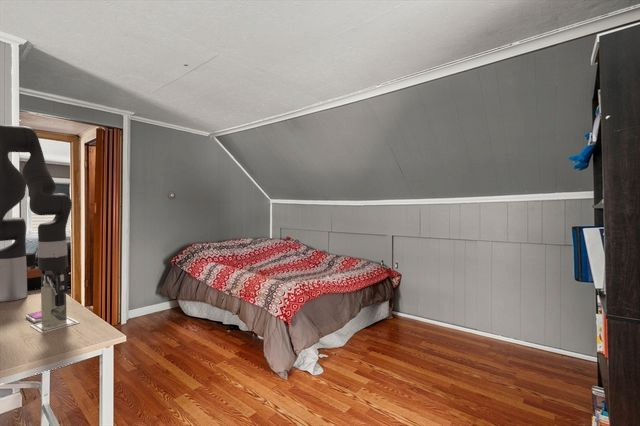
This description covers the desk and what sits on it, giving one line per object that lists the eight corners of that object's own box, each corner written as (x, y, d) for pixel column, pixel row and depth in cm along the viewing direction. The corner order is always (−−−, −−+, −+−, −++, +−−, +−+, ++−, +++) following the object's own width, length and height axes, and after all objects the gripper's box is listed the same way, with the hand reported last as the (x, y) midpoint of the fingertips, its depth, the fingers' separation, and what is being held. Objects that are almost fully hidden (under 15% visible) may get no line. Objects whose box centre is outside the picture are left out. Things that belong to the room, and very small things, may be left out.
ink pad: (25, 318, 113) (25, 314, 113) (53, 311, 119) (53, 307, 119) (34, 323, 108) (33, 319, 108) (62, 316, 115) (62, 312, 115)
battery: (22, 289, 146) (21, 267, 145) (41, 286, 151) (40, 265, 151) (24, 291, 143) (23, 269, 143) (44, 288, 148) (43, 266, 148)
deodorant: (23, 285, 153) (21, 253, 153) (38, 283, 156) (37, 252, 155) (17, 288, 148) (16, 255, 147) (33, 287, 150) (32, 254, 149)
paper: (30, 326, 106) (30, 325, 106) (67, 316, 114) (67, 315, 114) (41, 333, 101) (41, 332, 101) (79, 323, 109) (79, 321, 109)
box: (52, 327, 104) (50, 288, 104) (41, 326, 105) (39, 287, 105) (67, 321, 110) (66, 283, 109) (57, 320, 110) (56, 282, 110)
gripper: (30, 253, 107) (32, 302, 108) (47, 258, 99) (48, 310, 100) (58, 250, 113) (59, 296, 114) (75, 255, 106) (77, 304, 106)
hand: (54, 303), depth 107 cm, fingers open, 8 cm apart
